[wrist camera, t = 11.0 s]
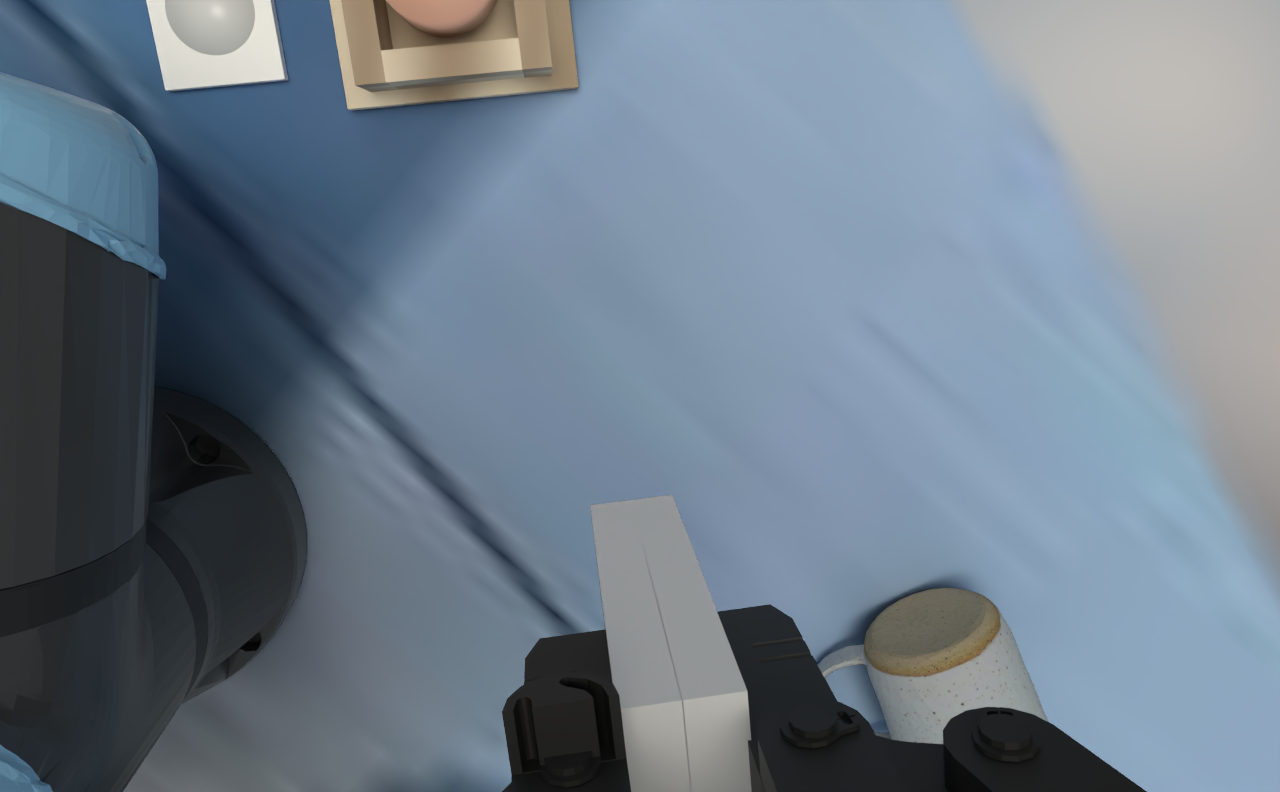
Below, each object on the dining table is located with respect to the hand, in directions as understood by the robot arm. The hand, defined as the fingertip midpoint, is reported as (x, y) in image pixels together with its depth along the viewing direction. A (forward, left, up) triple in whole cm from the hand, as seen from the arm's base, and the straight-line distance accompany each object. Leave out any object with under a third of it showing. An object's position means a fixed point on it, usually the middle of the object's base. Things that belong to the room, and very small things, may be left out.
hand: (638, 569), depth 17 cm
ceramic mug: (+15, -21, -29) cm, 39 cm away
